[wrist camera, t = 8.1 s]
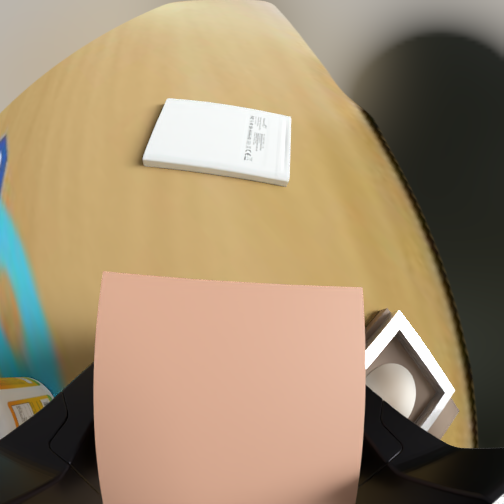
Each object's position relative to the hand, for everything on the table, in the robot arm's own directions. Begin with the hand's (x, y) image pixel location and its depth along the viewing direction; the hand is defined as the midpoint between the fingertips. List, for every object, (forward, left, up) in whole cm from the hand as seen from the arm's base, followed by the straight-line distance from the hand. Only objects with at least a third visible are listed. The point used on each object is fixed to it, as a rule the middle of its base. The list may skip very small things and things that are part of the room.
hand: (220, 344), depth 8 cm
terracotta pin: (-1, -1, -7) cm, 7 cm away
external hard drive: (+11, +14, -12) cm, 22 cm away
